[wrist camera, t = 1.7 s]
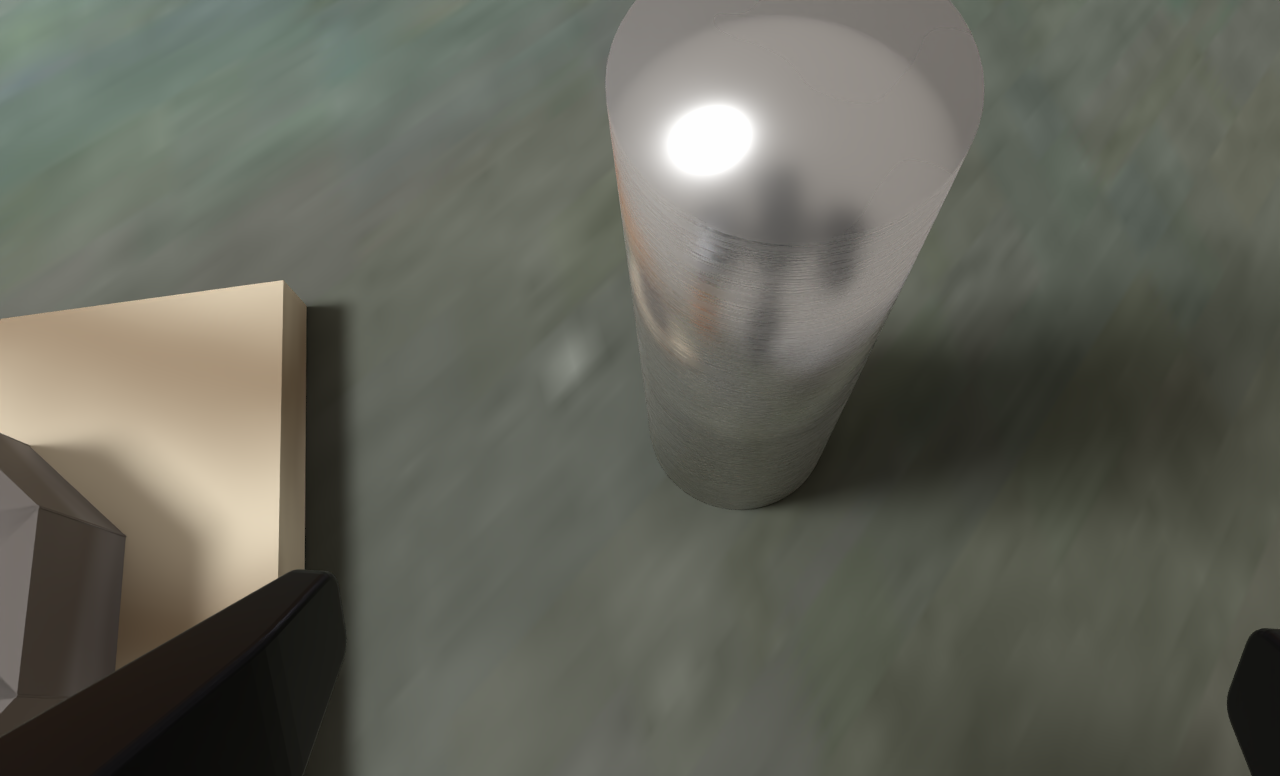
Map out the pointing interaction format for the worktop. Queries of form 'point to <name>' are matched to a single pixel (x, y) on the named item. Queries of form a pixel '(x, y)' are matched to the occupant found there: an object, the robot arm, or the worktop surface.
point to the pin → (776, 212)
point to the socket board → (142, 477)
